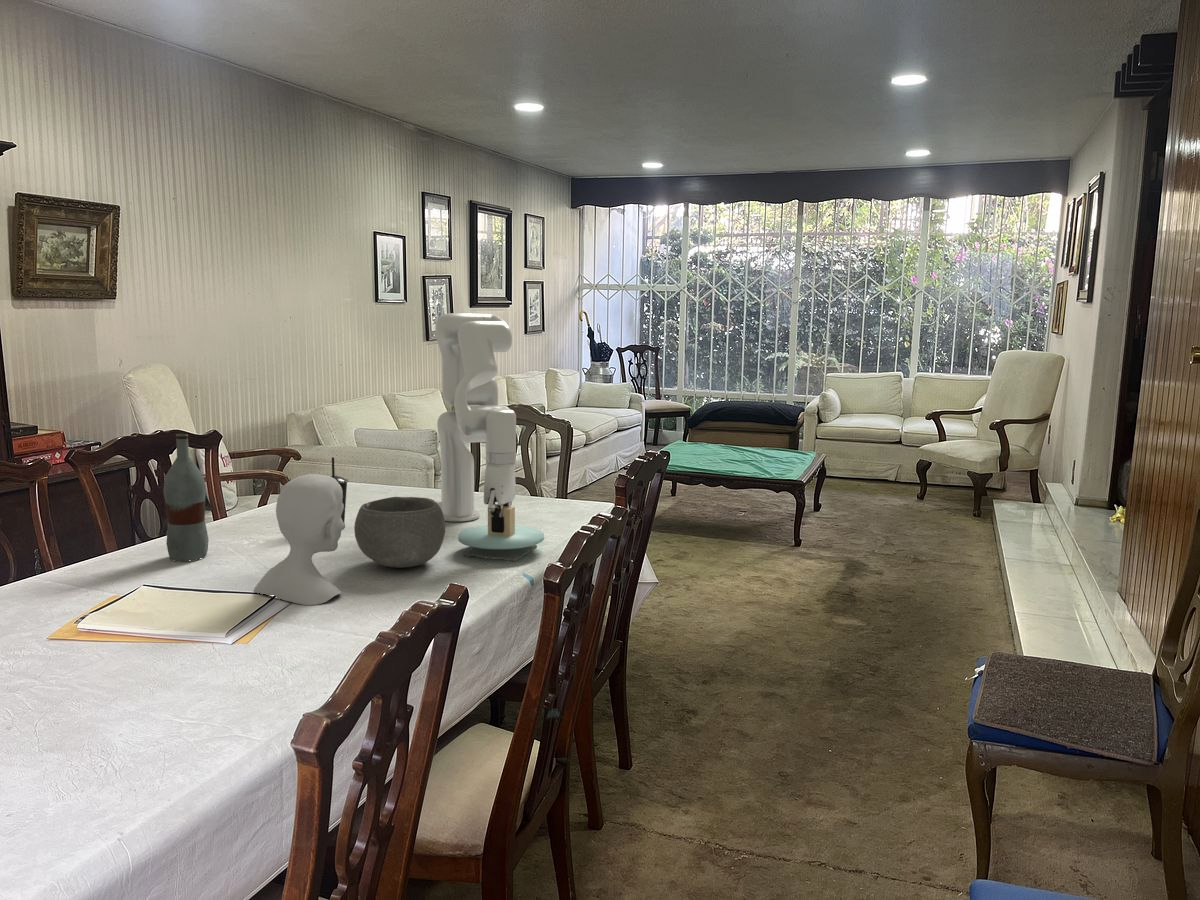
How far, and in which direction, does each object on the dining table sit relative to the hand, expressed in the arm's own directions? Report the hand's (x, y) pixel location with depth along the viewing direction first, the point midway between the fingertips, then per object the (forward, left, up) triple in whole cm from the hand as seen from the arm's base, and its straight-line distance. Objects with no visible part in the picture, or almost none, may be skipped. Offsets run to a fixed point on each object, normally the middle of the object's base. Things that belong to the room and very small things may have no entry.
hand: (501, 529), depth 224 cm
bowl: (-17, -20, -6) cm, 27 cm away
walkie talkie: (-52, +5, -6) cm, 53 cm away
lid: (0, 0, -2) cm, 2 cm away
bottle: (-68, -32, -6) cm, 75 cm away
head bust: (-26, -42, -6) cm, 50 cm away
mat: (0, 0, -6) cm, 6 cm away
